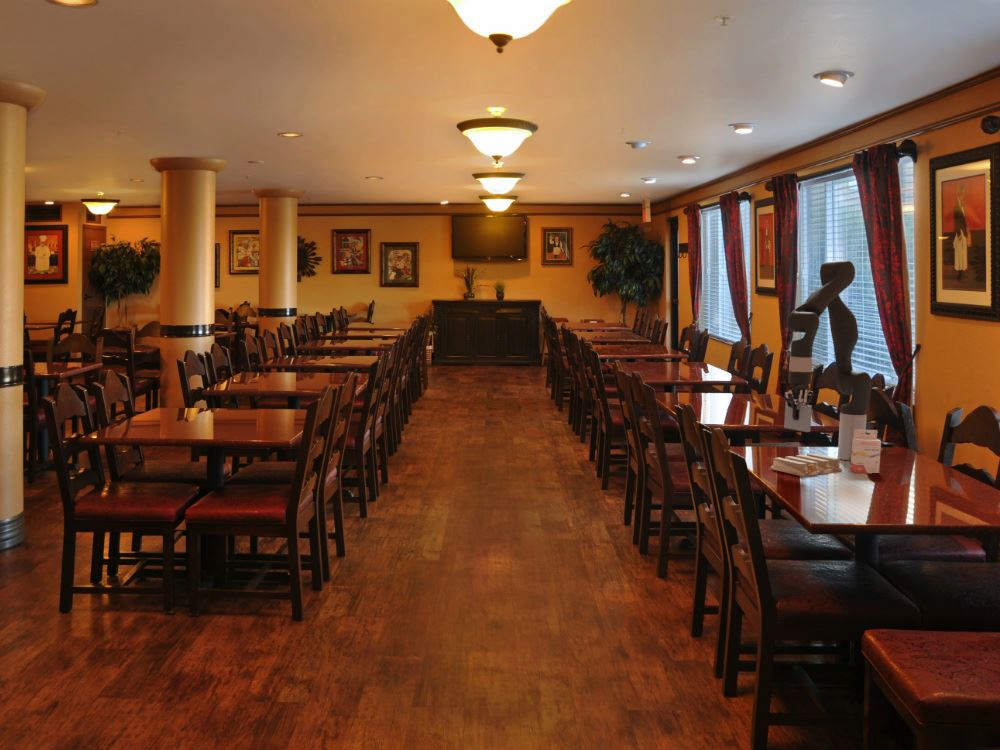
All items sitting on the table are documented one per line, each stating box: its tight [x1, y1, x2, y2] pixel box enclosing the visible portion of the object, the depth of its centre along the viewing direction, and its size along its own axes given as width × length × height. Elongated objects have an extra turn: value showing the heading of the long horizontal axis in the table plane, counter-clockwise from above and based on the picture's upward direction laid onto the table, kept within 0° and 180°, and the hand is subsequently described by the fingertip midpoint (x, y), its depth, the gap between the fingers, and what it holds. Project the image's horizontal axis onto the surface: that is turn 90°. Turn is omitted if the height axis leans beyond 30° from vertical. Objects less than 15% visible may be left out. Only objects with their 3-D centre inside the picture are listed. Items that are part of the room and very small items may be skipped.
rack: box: [770, 453, 843, 477], centre depth 324 cm, size 20×14×4 cm
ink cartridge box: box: [850, 429, 882, 474], centre depth 321 cm, size 9×5×15 cm, turn 84°
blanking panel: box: [783, 401, 813, 433], centre depth 319 cm, size 2×10×9 cm, turn 32°
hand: (797, 419), depth 319 cm, fingers closed on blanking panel, 1 cm apart
